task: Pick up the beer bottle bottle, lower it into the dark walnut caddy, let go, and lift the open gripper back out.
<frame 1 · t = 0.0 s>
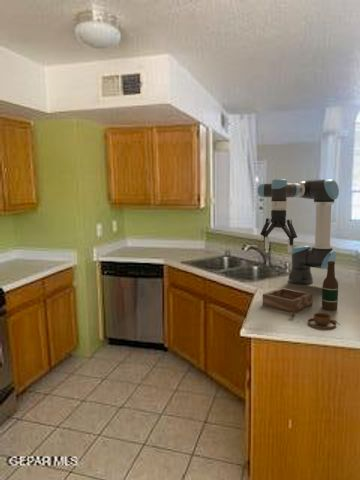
hand: (277, 250, 197), 28 cm above the worktop, tool pointing down, fingers open, 13 cm apart
brown cup and saucer: (316, 323, 171), on the worktop
beer bottle: (329, 309, 189), on the worktop
caddy: (287, 305, 195), on the worktop
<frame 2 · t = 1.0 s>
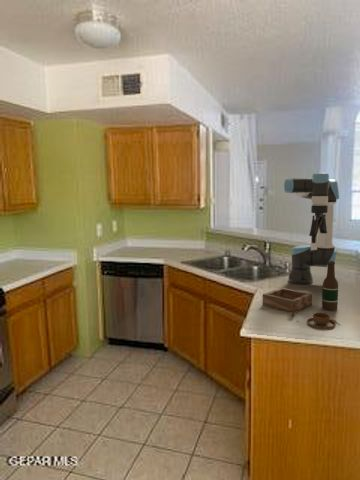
hand: (318, 247, 187), 30 cm above the worktop, tool pointing down, fingers open, 13 cm apart
nothing on the worktop moved.
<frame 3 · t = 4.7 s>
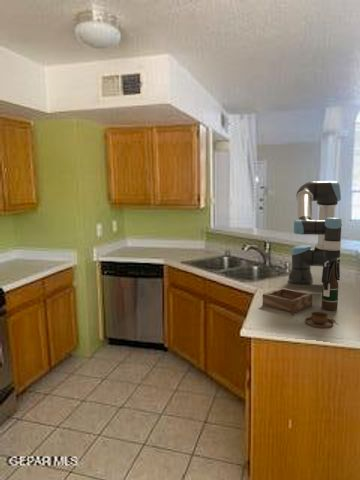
hand: (330, 294, 188), 7 cm above the worktop, tool pointing down, fingers closed on beer bottle, 8 cm apart
brown cup and saucer: (314, 322, 173), on the worktop
beer bottle: (329, 308, 189), on the worktop, touching gripper
when the fingers open (10 cm above the worktop, at t = 11.8 s): beer bottle drops 1 cm, resting on caddy.
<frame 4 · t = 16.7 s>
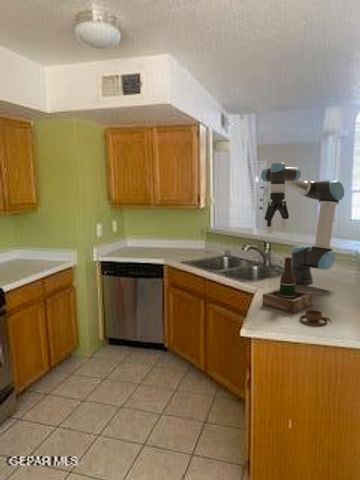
hand: (276, 231, 204), 37 cm above the worktop, tool pointing down, fingers open, 13 cm apart
brown cup and saucer: (309, 320, 175), on the worktop
beer bottle: (287, 303, 195), point 1 cm above the worktop, touching caddy
at the end: beer bottle inside the target area on the caddy (0.1 cm from its centre), point 0.8 cm above the caddy's base; beer bottle tilted 0°; the gripper is holding nothing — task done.
